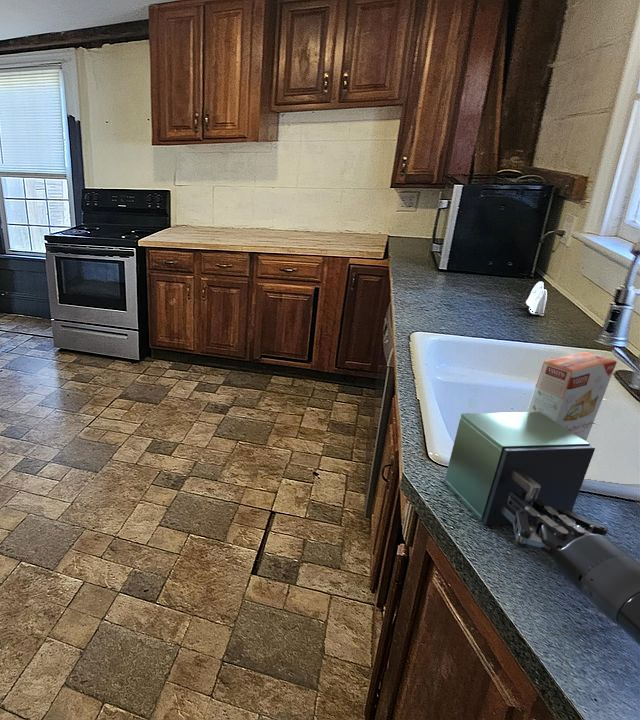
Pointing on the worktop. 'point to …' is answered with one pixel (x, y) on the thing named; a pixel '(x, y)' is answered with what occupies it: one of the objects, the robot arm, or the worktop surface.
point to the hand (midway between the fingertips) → (516, 497)
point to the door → (538, 479)
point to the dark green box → (496, 450)
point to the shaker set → (537, 299)
